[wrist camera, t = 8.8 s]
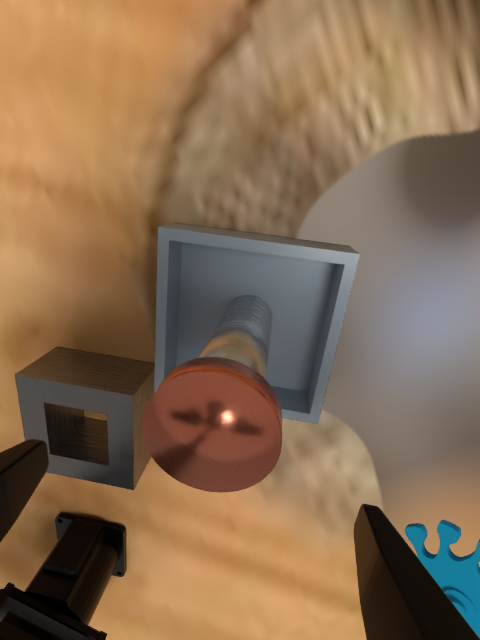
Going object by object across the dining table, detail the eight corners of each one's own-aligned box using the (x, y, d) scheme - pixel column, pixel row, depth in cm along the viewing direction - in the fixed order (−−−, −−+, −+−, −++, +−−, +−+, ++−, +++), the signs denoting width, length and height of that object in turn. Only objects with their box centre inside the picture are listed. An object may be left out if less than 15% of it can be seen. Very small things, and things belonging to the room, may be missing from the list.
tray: (314, 395, 22) (318, 424, 19) (170, 371, 23) (154, 394, 20) (349, 246, 19) (360, 254, 16) (176, 222, 19) (157, 226, 17)
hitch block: (155, 448, 26) (133, 489, 22) (65, 430, 26) (29, 468, 23) (158, 364, 23) (133, 395, 19) (57, 346, 24) (14, 374, 20)
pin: (277, 355, 21) (270, 504, 11) (211, 344, 21) (141, 477, 11) (289, 289, 19) (293, 390, 9) (217, 278, 20) (142, 364, 9)
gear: (471, 503, 22) (621, 712, 16) (485, 484, 26) (608, 645, 21) (344, 552, 27) (427, 723, 22) (373, 530, 31) (448, 668, 26)
